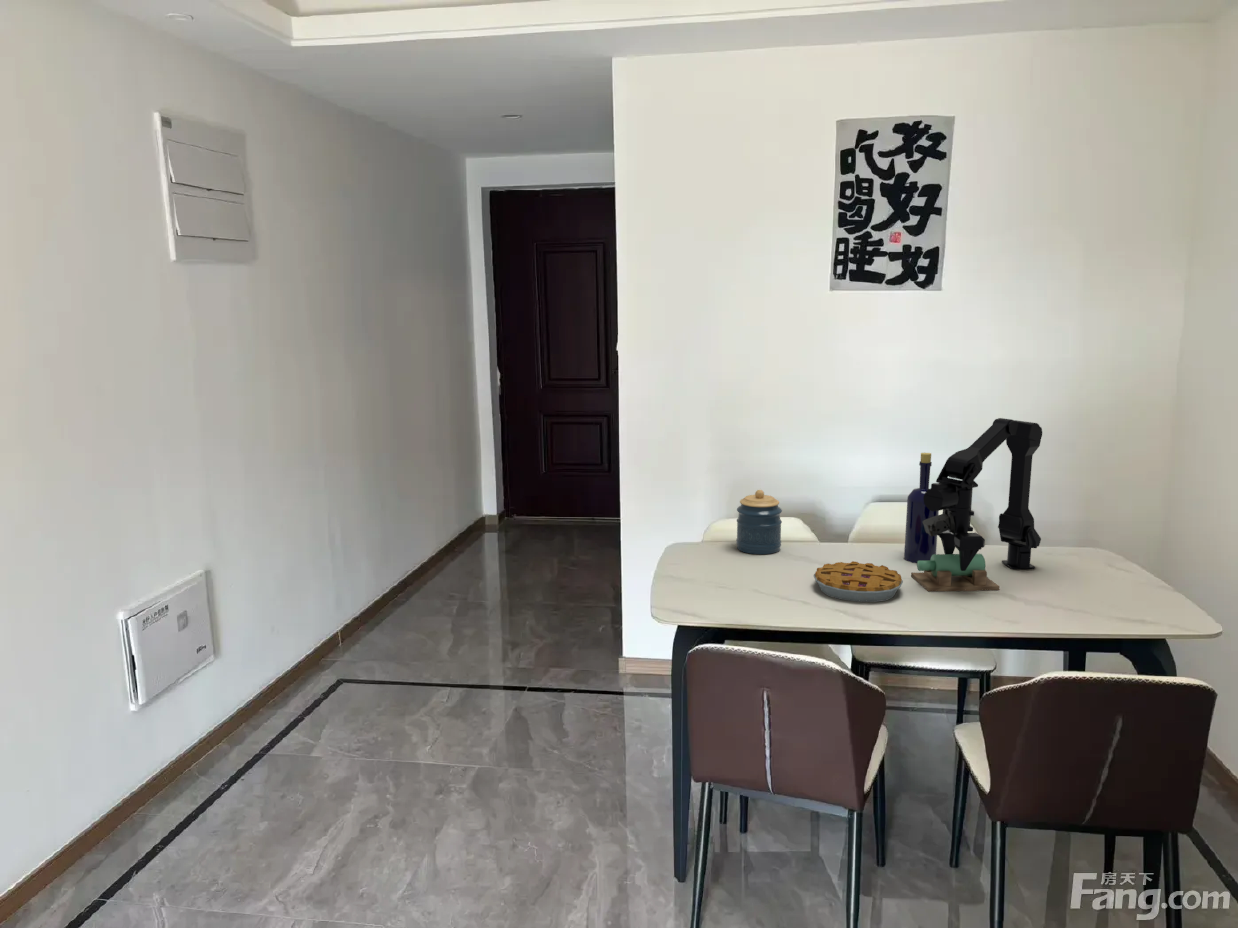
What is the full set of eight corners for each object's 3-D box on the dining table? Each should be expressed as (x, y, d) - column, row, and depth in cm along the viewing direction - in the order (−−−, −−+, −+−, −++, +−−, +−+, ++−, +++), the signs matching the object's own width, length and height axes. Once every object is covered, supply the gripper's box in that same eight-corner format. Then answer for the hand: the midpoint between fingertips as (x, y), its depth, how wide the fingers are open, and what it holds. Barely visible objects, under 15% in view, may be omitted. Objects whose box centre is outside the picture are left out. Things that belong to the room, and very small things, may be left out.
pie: (900, 579, 231) (901, 561, 230) (904, 608, 210) (905, 588, 210) (815, 573, 237) (815, 555, 236) (810, 600, 216) (811, 581, 215)
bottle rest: (928, 591, 221) (929, 574, 220) (911, 576, 233) (912, 559, 232) (999, 589, 222) (1000, 572, 221) (978, 574, 234) (979, 558, 233)
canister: (787, 546, 261) (789, 488, 258) (770, 557, 250) (772, 496, 247) (747, 540, 268) (748, 483, 265) (728, 551, 257) (729, 491, 254)
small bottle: (975, 571, 230) (976, 550, 229) (984, 578, 225) (986, 557, 223) (914, 572, 230) (915, 551, 228) (922, 579, 224) (923, 558, 223)
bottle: (942, 563, 243) (948, 456, 238) (908, 563, 244) (914, 456, 238) (931, 554, 252) (937, 450, 247) (898, 554, 253) (904, 450, 247)
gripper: (914, 497, 232) (911, 555, 235) (942, 515, 214) (938, 577, 217) (956, 497, 233) (952, 554, 236) (987, 514, 214) (983, 576, 217)
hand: (955, 565), depth 226 cm, fingers open, 9 cm apart
